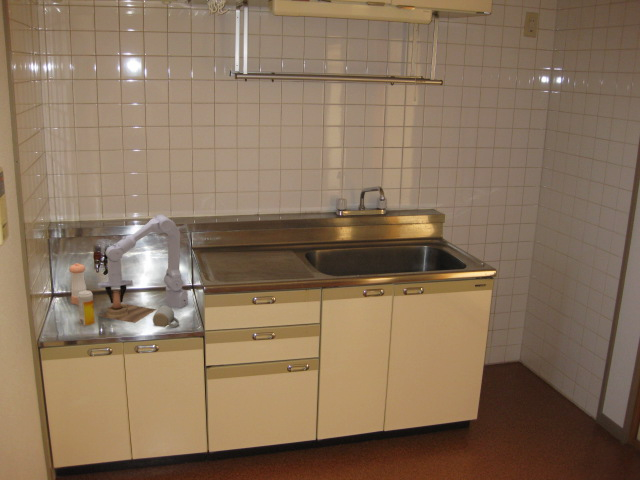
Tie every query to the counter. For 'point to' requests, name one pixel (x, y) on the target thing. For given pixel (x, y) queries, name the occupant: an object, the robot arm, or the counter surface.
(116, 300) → the peg
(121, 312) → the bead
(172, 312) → the ceramic mug
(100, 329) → the counter surface
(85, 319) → the yellow labeled bottle
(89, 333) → the counter surface
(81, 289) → the salt shaker
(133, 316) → the board
